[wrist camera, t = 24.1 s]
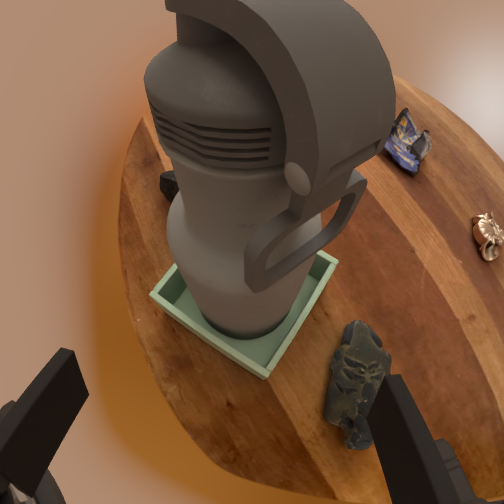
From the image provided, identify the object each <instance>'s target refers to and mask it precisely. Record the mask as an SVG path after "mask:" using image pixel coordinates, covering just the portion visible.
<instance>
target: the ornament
mask: <svg viewBox="0 0 504 504" xmlns="http://www.w3.org/2000/svg"><path fill="white" fill-rule="evenodd" d="M473 218H474V220H473V223H474V224H475V225H474V227H473V235H474V237H475V239H476V241H477V242H478V243H479V244H480V246H481V247H480V249H479V250H480V251H481V253H482V257H483V259H484V260H486V261H493V260H495V259H497V258H498V256H499V255H498V254H499V253H500V251H501V249H502V245H503V241H504V232H503V230H502V229H501V230H500V231H499V226H498V225H496V222H495V219H494V215H493V213H492V212H491V213H490V218H488V213H486V214H484V215H473ZM489 242H491V243H492V245H491V246H490V247H489V248H488V249H485V248H486V245H487V244H488V243H489Z"/></svg>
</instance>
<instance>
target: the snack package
mask: <svg viewBox="0 0 504 504" xmlns="http://www.w3.org/2000/svg"><path fill="white" fill-rule="evenodd" d="M421 127H423V126H421ZM431 146H432V139H431V136H430V134H429V131H427V130H423V132H422V133H421V132H420V131H418V129H417V128H416V125H415V123H414V121H413V119H412V118H411V116H410V112H409V111H408V108H405V109H403V110H402V111H401V113H400V114H399V116H398V117H397V119H396V120H394V123H393V126H392V129H391V132H390V135H389V137H388V139H387V142H386V144H385V146H384V148H385V149H386V150H387V151H388V152H389V153H390V154H391V155H392V157H393V162H396V164H398V166H399V167H401V168H402V169H403V170H405V171H407V172H409V173H410V174H412V175H413V176H415V175H416V174H417V173H418V171H419V168H420V162H421V160H422V159H423V158H424V157H425V156H426V154H427V153H429V151H430V150H431V148H432V147H431Z"/></svg>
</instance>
